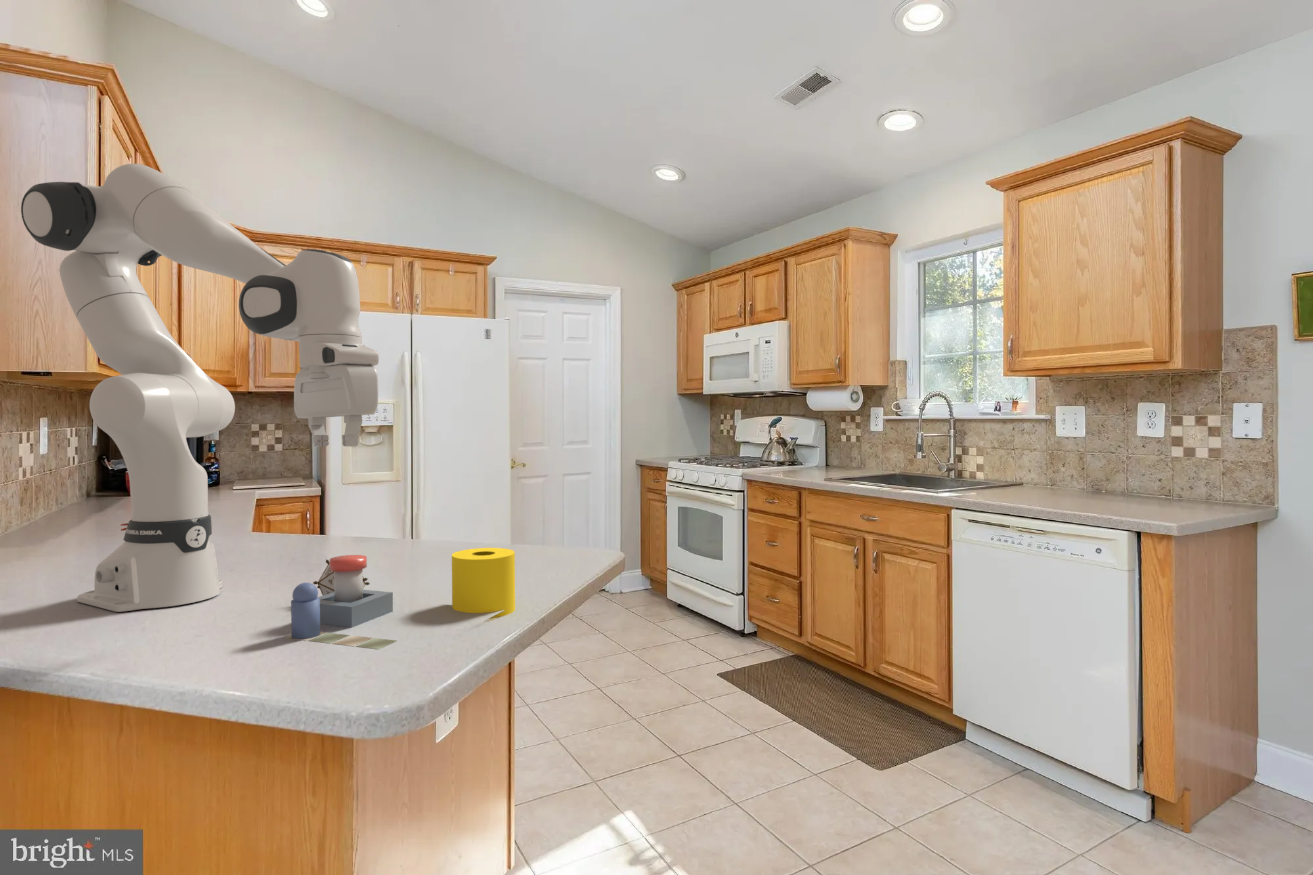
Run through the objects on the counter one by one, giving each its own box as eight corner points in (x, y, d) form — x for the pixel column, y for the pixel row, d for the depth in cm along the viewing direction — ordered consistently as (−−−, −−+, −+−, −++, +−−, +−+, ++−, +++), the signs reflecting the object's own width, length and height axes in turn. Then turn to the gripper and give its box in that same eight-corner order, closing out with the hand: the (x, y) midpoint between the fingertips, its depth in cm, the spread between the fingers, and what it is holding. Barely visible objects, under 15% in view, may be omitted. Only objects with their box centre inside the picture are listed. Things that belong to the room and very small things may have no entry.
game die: (346, 630, 116) (342, 592, 111) (304, 610, 118) (298, 571, 112) (381, 594, 123) (379, 556, 117) (341, 575, 125) (337, 536, 119)
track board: (271, 649, 96) (271, 642, 96) (316, 632, 103) (316, 625, 103) (368, 662, 91) (368, 654, 91) (408, 643, 98) (408, 636, 98)
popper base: (302, 628, 105) (302, 601, 105) (346, 612, 114) (346, 588, 114) (352, 634, 103) (351, 606, 102) (392, 617, 111) (392, 592, 111)
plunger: (322, 606, 106) (321, 560, 106) (347, 598, 111) (346, 554, 111) (350, 609, 105) (349, 562, 105) (374, 600, 110) (373, 556, 110)
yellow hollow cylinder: (527, 610, 115) (526, 553, 115) (472, 623, 108) (471, 562, 108) (494, 599, 122) (493, 545, 122) (441, 610, 115) (440, 553, 115)
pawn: (285, 637, 98) (284, 584, 97) (305, 630, 101) (304, 579, 101) (306, 640, 97) (305, 586, 96) (326, 632, 100) (325, 580, 100)
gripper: (281, 361, 112) (285, 447, 113) (343, 349, 99) (347, 447, 100) (320, 362, 117) (324, 445, 118) (384, 352, 104) (388, 445, 105)
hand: (335, 446), depth 109 cm, fingers open, 8 cm apart
